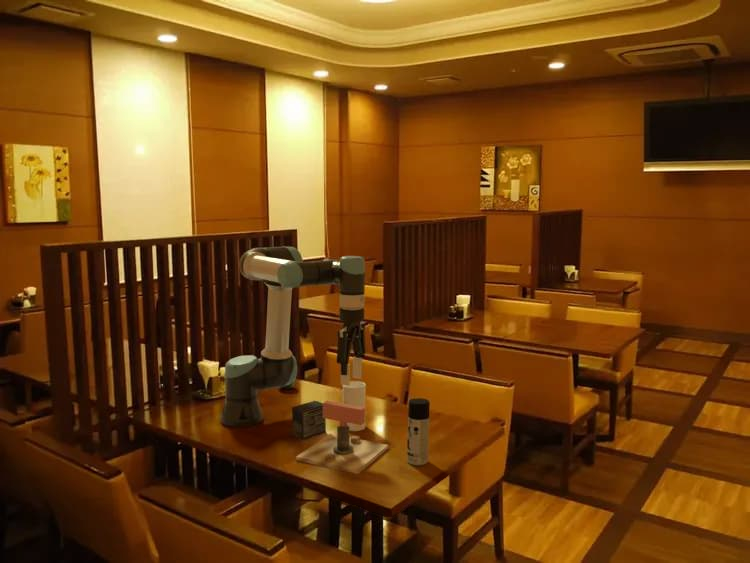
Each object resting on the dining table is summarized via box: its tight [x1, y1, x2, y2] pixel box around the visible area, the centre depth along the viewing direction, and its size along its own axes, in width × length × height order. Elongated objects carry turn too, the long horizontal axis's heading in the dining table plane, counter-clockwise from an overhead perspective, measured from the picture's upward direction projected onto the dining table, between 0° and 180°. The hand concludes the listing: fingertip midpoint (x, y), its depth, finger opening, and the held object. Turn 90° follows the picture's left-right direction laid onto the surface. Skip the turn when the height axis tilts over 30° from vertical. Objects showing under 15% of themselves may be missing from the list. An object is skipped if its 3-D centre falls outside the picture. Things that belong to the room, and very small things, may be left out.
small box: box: [291, 400, 327, 441], centre depth 223 cm, size 11×6×10 cm, turn 134°
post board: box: [295, 424, 389, 475], centre depth 206 cm, size 22×22×9 cm
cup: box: [342, 380, 367, 432], centre depth 230 cm, size 8×8×16 cm
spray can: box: [406, 397, 431, 467], centre depth 201 cm, size 7×7×20 cm
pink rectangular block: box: [322, 400, 366, 428], centre depth 205 cm, size 14×3×7 cm, turn 65°
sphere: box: [280, 379, 296, 390], centre depth 274 cm, size 8×8×8 cm
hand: (351, 381), depth 195 cm, fingers open, 7 cm apart
